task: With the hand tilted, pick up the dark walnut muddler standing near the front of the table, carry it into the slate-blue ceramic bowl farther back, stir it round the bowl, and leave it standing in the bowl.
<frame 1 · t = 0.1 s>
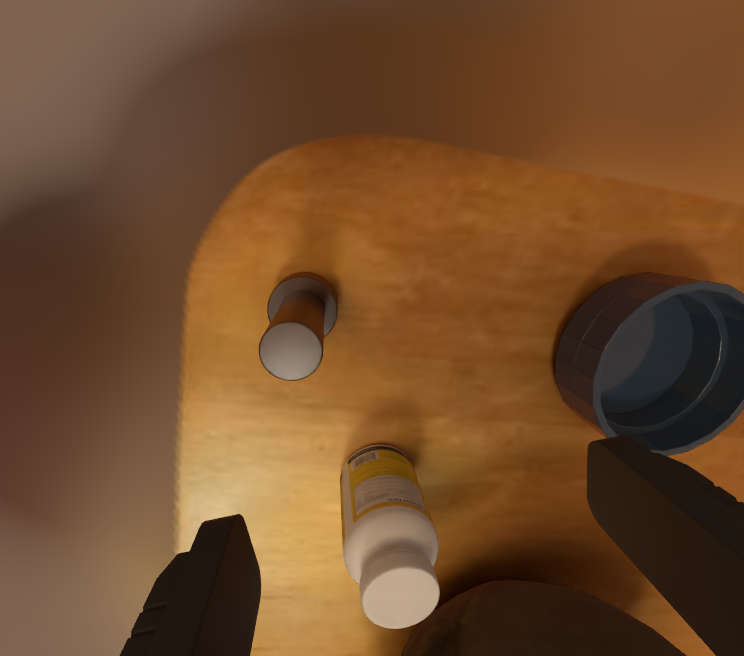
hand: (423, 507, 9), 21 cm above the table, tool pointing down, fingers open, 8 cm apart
pot: (481, 628, 40), on the table
pill bottle: (376, 471, 33), on the table
bowl: (624, 350, 32), on the table
muddler: (304, 303, 28), on the table
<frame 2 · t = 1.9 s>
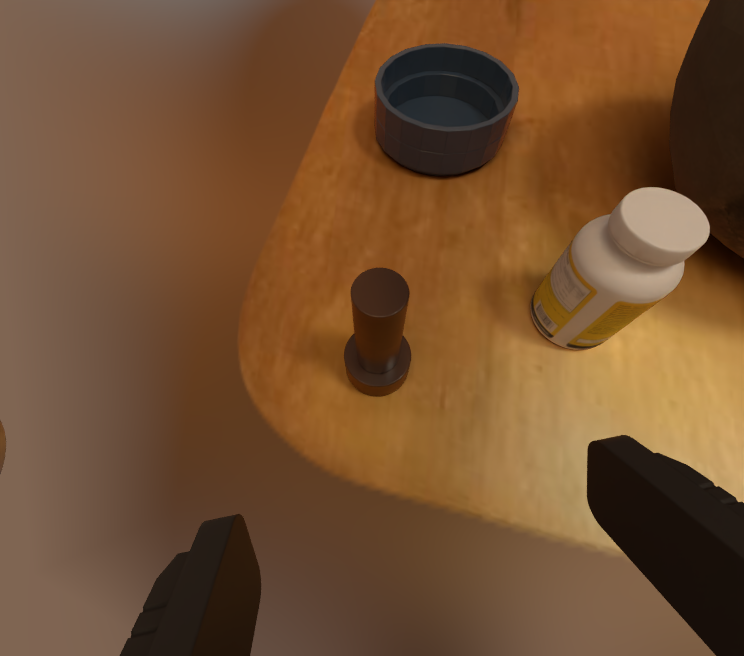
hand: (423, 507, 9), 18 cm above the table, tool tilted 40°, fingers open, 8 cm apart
pill bottle: (565, 317, 31), on the table
bowl: (437, 135, 41), on the table
muddler: (377, 366, 29), on the table
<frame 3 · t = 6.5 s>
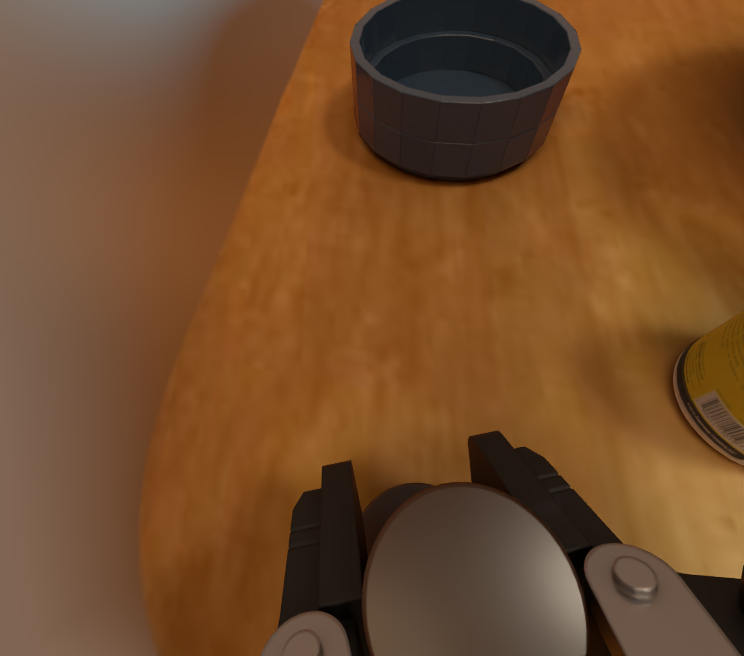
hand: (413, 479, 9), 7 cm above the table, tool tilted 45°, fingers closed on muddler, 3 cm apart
pill bottle: (737, 405, 17), on the table
bowl: (449, 123, 28), on the table
muddler: (414, 555, 15), on the table, touching gripper
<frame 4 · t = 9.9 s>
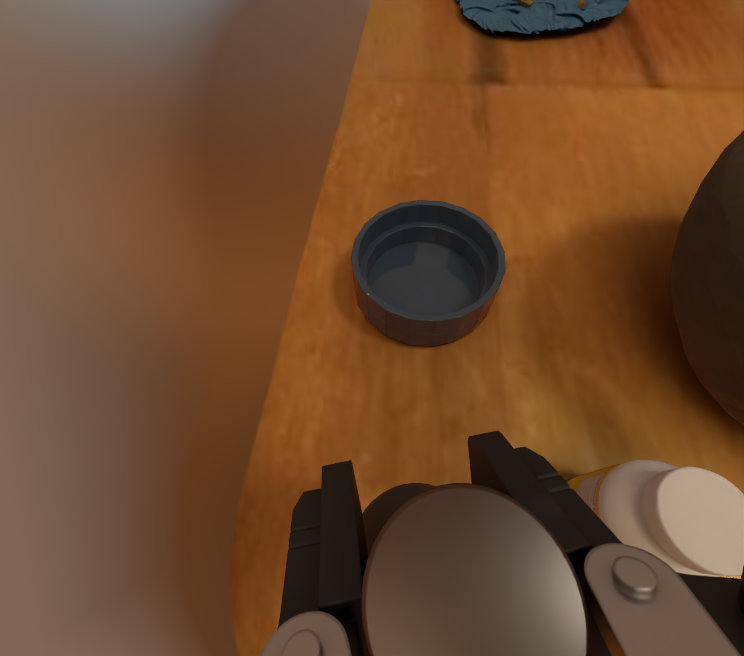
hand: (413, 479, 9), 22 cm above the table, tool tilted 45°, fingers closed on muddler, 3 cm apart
pill bottle: (590, 522, 28), on the table
bowl: (422, 289, 38), on the table
muddler: (414, 556, 15), point 15 cm above the table, touching gripper
decorative plate: (533, 5, 67), on the table
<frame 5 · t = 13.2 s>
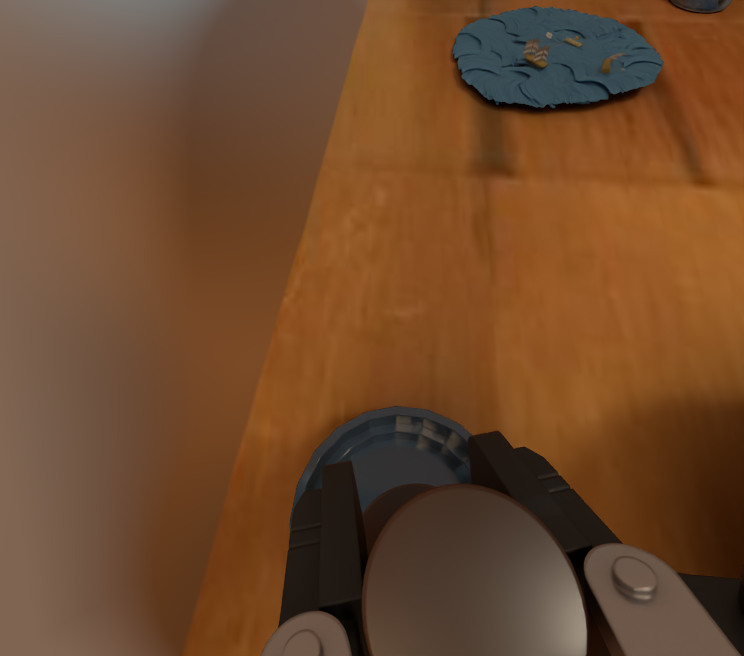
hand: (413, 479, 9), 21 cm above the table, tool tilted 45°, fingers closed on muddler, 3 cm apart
bottle: (695, 2, 64), on the table
bowl: (399, 519, 27), on the table
muddler: (414, 556, 15), point 14 cm above the table, touching gripper
decorative plate: (546, 63, 56), on the table
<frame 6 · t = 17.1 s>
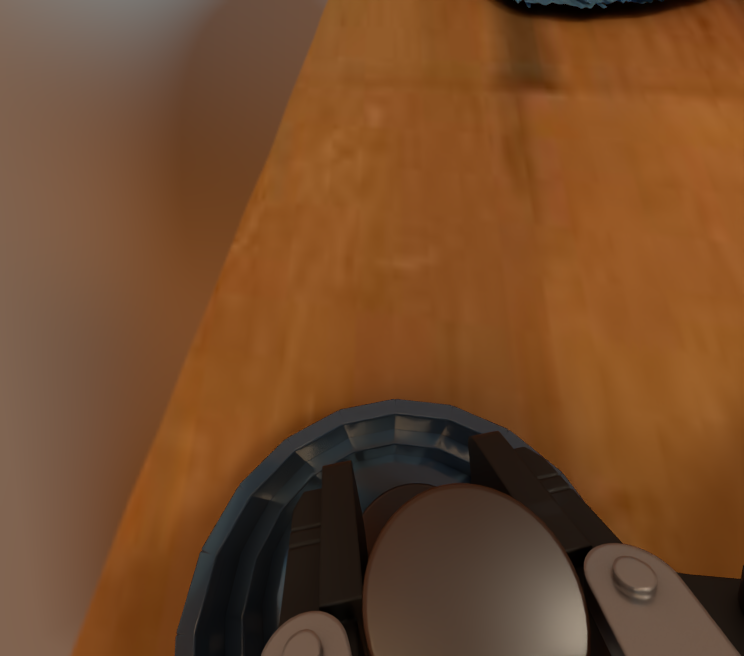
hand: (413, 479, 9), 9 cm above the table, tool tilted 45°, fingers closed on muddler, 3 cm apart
bowl: (401, 597, 16), on the table
muddler: (415, 556, 15), point 2 cm above the table, touching gripper
when the fingers open (8 cm above the table, at t = 20.2 s): muddler stays where it is, resting on bowl.
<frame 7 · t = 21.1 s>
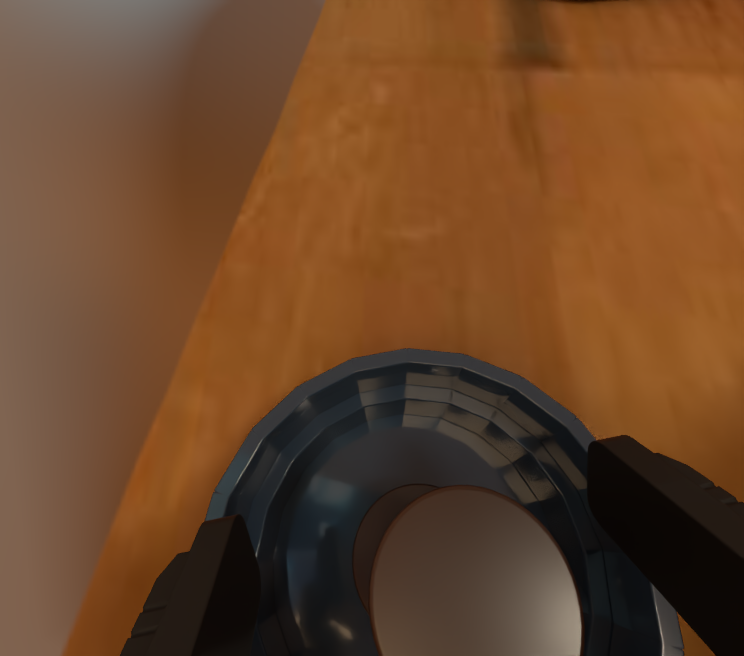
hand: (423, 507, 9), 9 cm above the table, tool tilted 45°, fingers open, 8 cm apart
bowl: (412, 552, 16), on the table
muddler: (416, 554, 15), point 1 cm above the table, touching bowl
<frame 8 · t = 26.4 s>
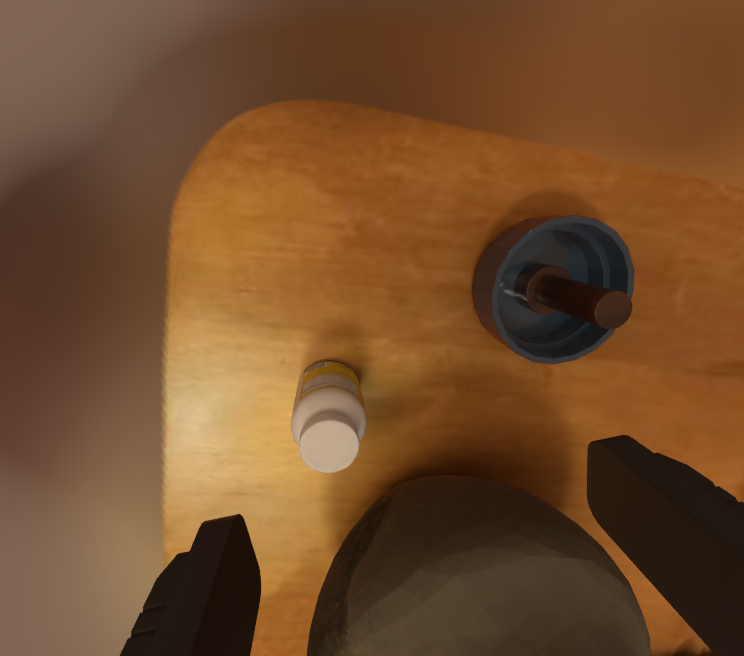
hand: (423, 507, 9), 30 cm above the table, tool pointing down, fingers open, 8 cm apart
pot: (424, 530, 47), on the table
pill bottle: (329, 384, 40), on the table
bowl: (532, 284, 39), on the table
muddler: (536, 286, 39), point 1 cm above the table, touching bowl
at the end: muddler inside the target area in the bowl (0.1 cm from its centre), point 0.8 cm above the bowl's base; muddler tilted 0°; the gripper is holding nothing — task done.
